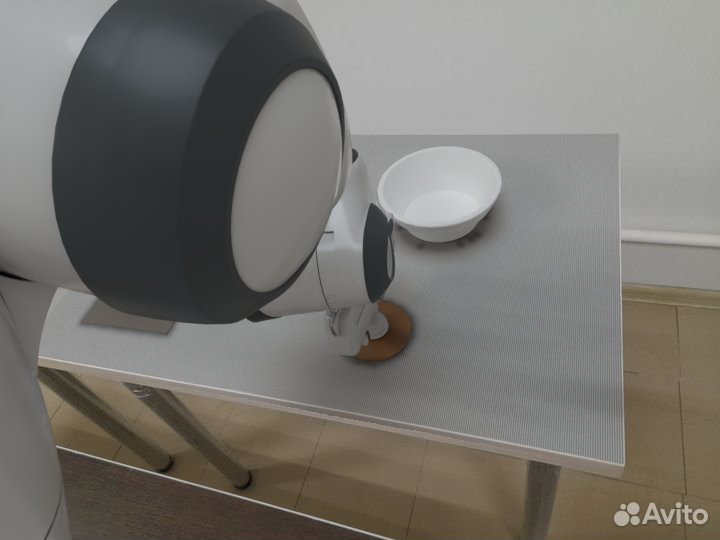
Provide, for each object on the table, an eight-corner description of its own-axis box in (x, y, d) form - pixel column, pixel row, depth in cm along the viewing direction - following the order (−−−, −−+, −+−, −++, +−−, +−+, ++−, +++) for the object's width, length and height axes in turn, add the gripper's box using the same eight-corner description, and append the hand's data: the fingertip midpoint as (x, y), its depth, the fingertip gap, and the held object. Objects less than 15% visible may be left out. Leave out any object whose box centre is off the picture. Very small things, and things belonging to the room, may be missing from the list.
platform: (119, 272, 101) (100, 249, 97) (198, 279, 96) (182, 255, 91) (83, 322, 94) (61, 300, 89) (166, 333, 89) (148, 310, 84)
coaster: (401, 367, 76) (400, 365, 75) (331, 355, 79) (330, 353, 79) (418, 307, 82) (418, 305, 82) (353, 299, 86) (352, 297, 86)
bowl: (414, 278, 86) (408, 244, 80) (367, 206, 101) (359, 173, 95) (525, 230, 89) (528, 194, 83) (464, 167, 103) (463, 131, 97)
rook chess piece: (355, 336, 80) (344, 304, 74) (367, 314, 83) (358, 281, 77) (381, 344, 78) (373, 312, 73) (393, 321, 81) (385, 288, 75)
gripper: (352, 323, 61) (372, 382, 71) (396, 205, 73) (408, 270, 83) (303, 315, 63) (329, 374, 73) (354, 202, 75) (371, 266, 85)
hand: (372, 318), depth 78 cm, fingers open, 7 cm apart
